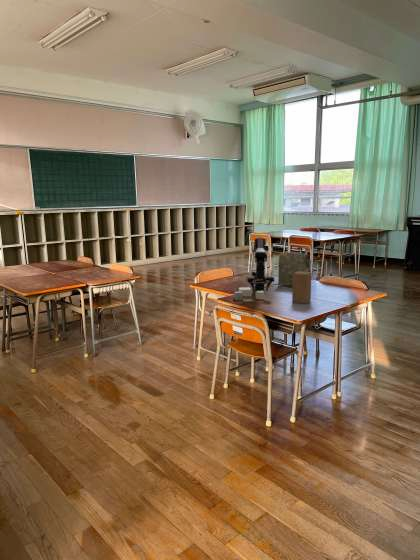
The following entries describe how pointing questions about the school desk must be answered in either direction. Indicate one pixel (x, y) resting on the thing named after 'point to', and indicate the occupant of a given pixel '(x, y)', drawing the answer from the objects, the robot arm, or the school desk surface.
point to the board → (249, 300)
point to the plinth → (246, 291)
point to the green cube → (259, 295)
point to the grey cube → (238, 295)
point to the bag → (291, 266)
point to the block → (301, 287)
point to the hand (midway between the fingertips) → (260, 291)
